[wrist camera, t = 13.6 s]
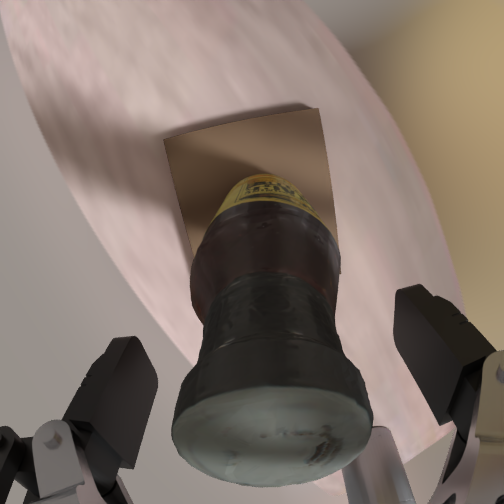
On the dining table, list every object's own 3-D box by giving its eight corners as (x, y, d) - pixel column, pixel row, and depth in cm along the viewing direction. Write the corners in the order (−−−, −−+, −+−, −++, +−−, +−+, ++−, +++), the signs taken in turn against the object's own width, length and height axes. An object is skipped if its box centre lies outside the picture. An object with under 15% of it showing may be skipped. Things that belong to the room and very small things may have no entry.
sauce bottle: (318, 203, 23) (482, 405, 5) (270, 262, 25) (304, 513, 6) (251, 152, 22) (261, 248, 3) (204, 216, 23) (95, 452, 5)
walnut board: (337, 268, 26) (341, 273, 25) (208, 292, 27) (206, 298, 26) (315, 109, 21) (318, 108, 20) (167, 139, 22) (163, 139, 21)
